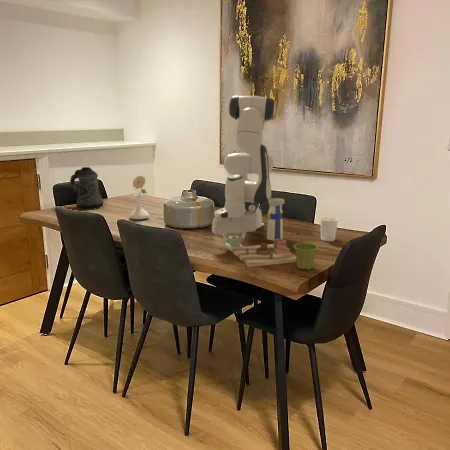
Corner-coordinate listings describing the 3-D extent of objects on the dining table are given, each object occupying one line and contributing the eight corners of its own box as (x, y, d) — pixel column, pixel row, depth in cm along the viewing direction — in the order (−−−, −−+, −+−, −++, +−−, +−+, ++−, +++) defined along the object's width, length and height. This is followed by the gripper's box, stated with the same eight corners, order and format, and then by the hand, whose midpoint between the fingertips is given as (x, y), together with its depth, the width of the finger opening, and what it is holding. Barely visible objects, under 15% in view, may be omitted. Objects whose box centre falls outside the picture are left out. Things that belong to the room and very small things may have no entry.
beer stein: (103, 209, 284) (101, 168, 278) (71, 210, 279) (67, 169, 273) (103, 203, 300) (101, 165, 294) (72, 205, 295) (69, 166, 289)
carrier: (230, 251, 201) (230, 235, 199) (276, 246, 208) (276, 232, 206) (248, 266, 181) (249, 250, 179) (298, 261, 188) (299, 245, 186)
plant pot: (305, 273, 175) (306, 251, 172) (287, 266, 182) (288, 245, 180) (321, 268, 180) (323, 247, 178) (304, 262, 187) (305, 241, 185)
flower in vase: (125, 218, 260) (123, 174, 254) (142, 215, 268) (141, 172, 262) (137, 222, 251) (135, 177, 245) (155, 219, 258) (153, 175, 252)
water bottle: (269, 241, 216) (271, 189, 210) (263, 236, 224) (264, 186, 218) (285, 240, 218) (288, 188, 212) (279, 235, 226) (281, 185, 220)
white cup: (338, 238, 222) (339, 218, 219) (333, 242, 215) (334, 222, 213) (322, 236, 226) (323, 216, 223) (317, 240, 219) (318, 219, 217)
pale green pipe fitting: (225, 246, 208) (225, 236, 206) (238, 245, 210) (238, 234, 208) (229, 250, 202) (229, 239, 201) (243, 249, 204) (243, 238, 203)
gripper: (253, 209, 208) (253, 238, 211) (210, 211, 201) (210, 242, 205) (259, 211, 202) (258, 242, 205) (215, 214, 196) (215, 245, 199)
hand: (234, 242), depth 205 cm, fingers open, 6 cm apart
